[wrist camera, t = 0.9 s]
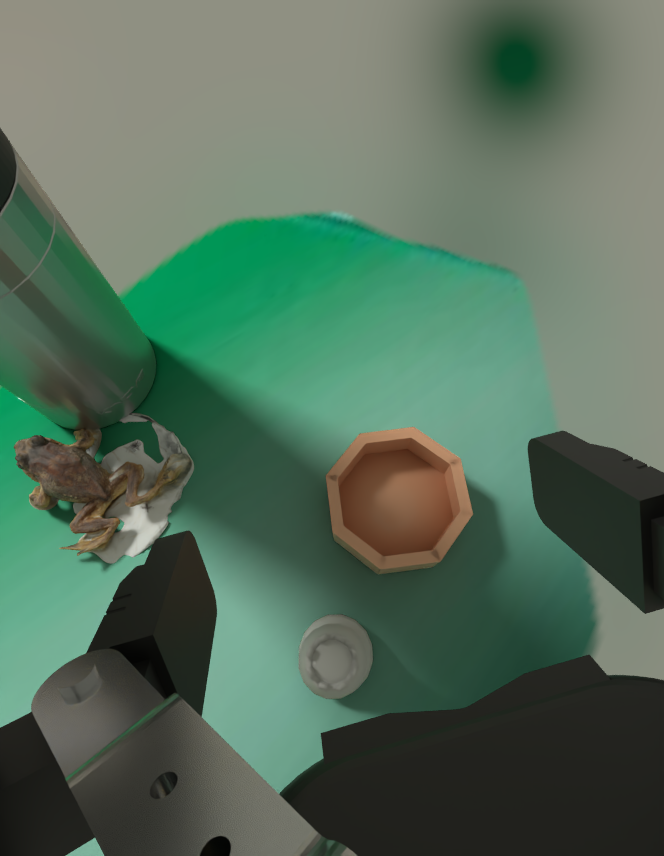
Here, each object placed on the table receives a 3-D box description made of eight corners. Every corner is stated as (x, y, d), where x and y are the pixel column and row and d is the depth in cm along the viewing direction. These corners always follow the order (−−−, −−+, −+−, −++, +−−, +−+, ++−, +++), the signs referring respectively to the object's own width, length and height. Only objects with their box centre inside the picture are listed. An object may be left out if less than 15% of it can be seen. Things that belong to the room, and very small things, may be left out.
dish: (304, 517, 34) (300, 506, 31) (379, 422, 36) (382, 405, 33) (410, 599, 31) (416, 597, 29) (482, 494, 34) (495, 482, 31)
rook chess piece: (284, 665, 30) (264, 678, 23) (324, 599, 32) (317, 591, 24) (348, 711, 29) (347, 740, 22) (386, 641, 31) (399, 645, 23)
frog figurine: (-17, 534, 34) (-60, 523, 31) (84, 388, 38) (57, 364, 35) (124, 608, 32) (95, 606, 29) (215, 446, 36) (201, 426, 32)
